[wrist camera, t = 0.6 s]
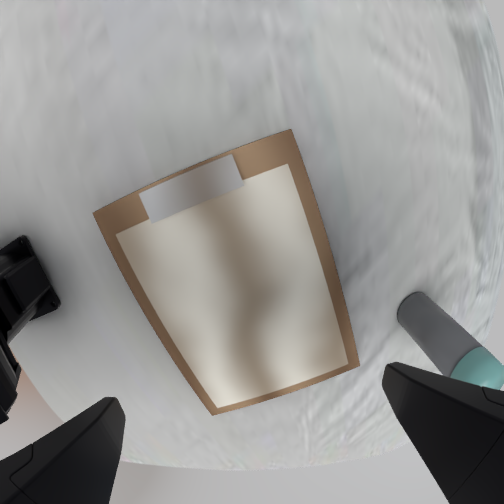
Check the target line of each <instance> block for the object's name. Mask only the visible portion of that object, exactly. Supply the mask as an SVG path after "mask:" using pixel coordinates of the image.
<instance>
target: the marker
mask: <svg viewBox="0 0 504 504" xmlns="http://www.w3.org/2000/svg"><path fill="white" fill-rule="evenodd" d="M398 321H399V323H400V324H401V326H402V327H403V328H404V329H405V330H406V331H407V333H408V334H409V335H410V336H411V337H412V338H413V339H414V341H415V342H416V343H417V344H418V345H419V347H420V348H421V349H422V350H423V351H424V352H425V354H426V355H427V356H428V357H429V358H430V360H431V361H432V362H433V363H434V364H435V366H436V367H437V368H438V369H439V371H440V372H441V373H442V374H443V375H444V376H446V377H450V378H453V379H457V380H461V381H464V382H468V383H472V384H476V385H479V386H481V387H482V386H485V387H488V388H492V389H497V390H500V389H501V387H502V385H503V384H504V366H503V365H502V364H501V363H500V362H499V361H498V360H497V359H496V358H495V357H494V356H493V355H492V354H491V353H490V352H489V351H488V350H487V349H486V348H485V347H483V346H482V345H481V344H480V343H479V342H478V341H477V340H476V339H475V338H473V337H472V336H471V335H470V334H469V333H468V332H467V331H466V330H465V329H464V328H463V327H462V326H461V325H459V324H458V323H457V322H456V321H455V320H454V319H453V318H452V317H451V316H449V315H448V314H447V313H446V312H445V311H444V310H443V309H442V308H440V307H439V306H438V305H437V304H436V303H435V302H434V301H432V300H431V299H430V298H429V297H428V296H427V295H426V294H424V293H415V294H412V295H410V296H409V297H408V298H406V299H405V300H404V302H403V303H402V304H401V306H400V308H399V311H398Z"/></svg>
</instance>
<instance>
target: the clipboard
mask: <svg viewBox="0 0 504 504" xmlns="http://www.w3.org/2000/svg"><path fill="white" fill-rule="evenodd" d="M93 215H94V218H95V220H96V222H97V224H98V226H99V228H100V230H101V233H102V235H103V237H104V239H105V241H106V243H107V245H108V247H109V249H110V251H111V253H112V255H113V257H114V259H115V261H116V263H117V265H118V267H119V269H120V271H121V272H122V274H123V276H124V278H125V280H126V282H127V284H128V286H129V287H130V289H131V291H132V293H133V295H134V296H135V298H136V300H137V302H138V303H139V305H140V307H141V309H142V310H143V312H144V314H145V316H146V317H147V319H148V321H149V322H150V324H151V326H152V327H153V329H154V331H155V332H156V334H157V335H158V337H159V339H160V340H161V342H162V344H163V345H164V347H165V348H166V350H167V351H168V353H169V354H170V356H171V358H172V359H173V361H174V362H175V364H176V365H177V367H178V368H179V370H180V371H181V373H182V374H183V376H184V377H185V379H186V380H187V381H188V383H189V384H190V386H191V387H192V389H193V390H194V392H195V393H196V394H197V396H198V397H199V399H200V400H201V401H202V403H203V404H204V405H205V407H206V408H207V409H208V411H209V412H210V414H211V415H212V416H213V415H217V414H220V413H224V412H228V411H232V410H236V409H239V408H243V407H246V406H250V405H253V404H256V403H260V402H263V401H266V400H269V399H273V398H276V397H279V396H282V395H285V394H288V393H291V392H294V391H296V390H299V389H302V388H305V387H308V386H310V385H313V384H316V383H318V382H321V381H324V380H326V379H329V378H331V377H334V376H336V375H339V374H341V373H344V372H346V371H349V370H351V369H353V368H356V367H358V366H360V363H359V359H358V354H357V350H356V345H355V341H354V336H353V332H352V328H351V324H350V319H349V315H348V311H347V307H346V303H345V299H344V296H343V292H342V288H341V284H340V280H339V277H338V273H337V269H336V266H335V262H334V259H333V255H332V252H331V248H330V245H329V241H328V238H327V235H326V231H325V228H324V225H323V221H322V218H321V215H320V212H319V208H318V205H317V202H316V199H315V196H314V193H313V190H312V187H311V184H310V181H309V178H308V175H307V172H306V169H305V166H304V163H303V160H302V157H301V155H300V152H299V149H298V146H297V143H296V141H295V138H294V135H293V132H292V130H291V129H289V130H286V131H283V132H280V133H277V134H275V135H272V136H269V137H266V138H263V139H260V140H257V141H255V142H252V143H249V144H246V145H244V146H241V147H238V148H236V149H233V150H231V151H228V152H225V153H223V154H220V155H218V156H215V157H213V158H210V159H208V160H205V161H203V162H200V163H198V164H196V165H193V166H191V167H188V168H186V169H184V170H181V171H179V172H177V173H175V174H172V175H170V176H168V177H166V178H163V179H161V180H159V181H157V182H154V183H152V184H150V185H148V186H146V187H144V188H142V189H139V190H137V191H135V192H133V193H131V194H129V195H127V196H125V197H123V198H121V199H119V200H117V201H115V202H113V203H111V204H109V205H107V206H105V207H103V208H101V209H99V210H97V211H95V212H94V213H93Z"/></svg>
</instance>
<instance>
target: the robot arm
mask: <svg viewBox="0 0 504 504" xmlns="http://www.w3.org/2000/svg"><path fill="white" fill-rule="evenodd" d="M21 240H22V241H23V244H22V242H21ZM53 302H54V303H55V304H56V305H55V304H54V303H53ZM59 306H60V301H59V299H58V297H57V296H56V294H55V292H54V290H53V289H52V287H51V285H50V283H49V281H48V280H47V278H46V276H45V274H44V272H43V270H42V268H41V266H40V264H39V262H38V260H37V258H36V256H35V254H34V252H33V250H32V248H31V246H30V244H29V242H28V240H27V238H26V237H25V236H20V237H18V238H17V239H15V240H14V241H12V242H11V243H10V244H8V245H7V246H5V247H4V248H2V249H1V250H0V424H2V423H3V422H5V421H7V420H8V419H9V417H8V416H7V414H8V412H9V410H10V409H11V406H12V405H13V404H14V402H15V400H16V398H17V392H16V387H17V383H18V380H19V376H20V372H21V367H20V365H19V363H17V362H16V360H15V358H14V356H13V354H12V352H11V350H10V348H9V346H8V344H9V343H10V342H11V340H12V339H13V338H14V337H15V336H16V335H17V333H18V332H19V331H20V330H21V329H22V328H23V327H24V326H25V325H26V323H27V322H28V321H31V320H33V319H35V318H38V317H40V316H42V315H45V314H47V313H49V312H52V311H54V310H56V309H58V307H59ZM382 387H383V390H384V392H385V394H386V396H387V398H388V400H389V403H390V405H391V407H392V409H393V411H394V413H395V415H396V417H397V419H398V421H399V422H400V424H401V426H402V427H403V429H404V430H405V432H406V433H407V435H408V437H409V438H410V440H411V441H412V443H413V445H414V446H415V448H416V449H417V451H418V453H419V454H420V456H421V457H422V459H423V461H424V462H425V464H426V466H427V467H428V469H429V470H430V472H431V474H432V475H433V477H434V479H435V480H436V482H437V484H438V485H439V487H440V488H441V490H442V492H443V493H444V495H445V497H446V499H447V500H448V502H449V504H504V391H501V390H497V389H492V388H488V387H485V386H482V387H481V386H479V385H476V384H472V383H468V382H464V381H461V380H457V379H453V378H450V377H446V376H443V375H439V374H436V373H432V372H429V371H426V370H422V369H419V368H416V367H412V366H409V365H406V364H403V363H399V362H393V363H390V364H387V365H386V367H385V371H384V375H383V379H382ZM124 427H125V414H124V411H123V409H122V407H121V405H120V403H119V401H118V399H117V398H115V397H105V398H103V399H101V400H100V401H98V402H97V403H95V404H94V405H92V406H91V407H89V408H88V409H86V410H85V411H83V412H81V413H80V414H78V415H77V416H75V417H74V418H72V419H71V420H69V421H67V422H66V423H64V424H63V425H61V426H59V427H58V428H56V429H55V430H53V431H52V432H50V433H49V434H47V435H45V436H43V437H42V438H40V439H39V440H37V441H35V442H34V443H33V444H30V445H28V446H26V447H25V448H23V449H21V450H20V451H18V452H16V453H14V454H13V455H11V456H9V457H7V458H5V459H3V460H1V461H0V504H109V501H110V496H111V492H112V487H113V484H114V479H115V476H116V471H117V467H118V464H119V460H120V455H121V450H122V443H123V435H124Z"/></svg>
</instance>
